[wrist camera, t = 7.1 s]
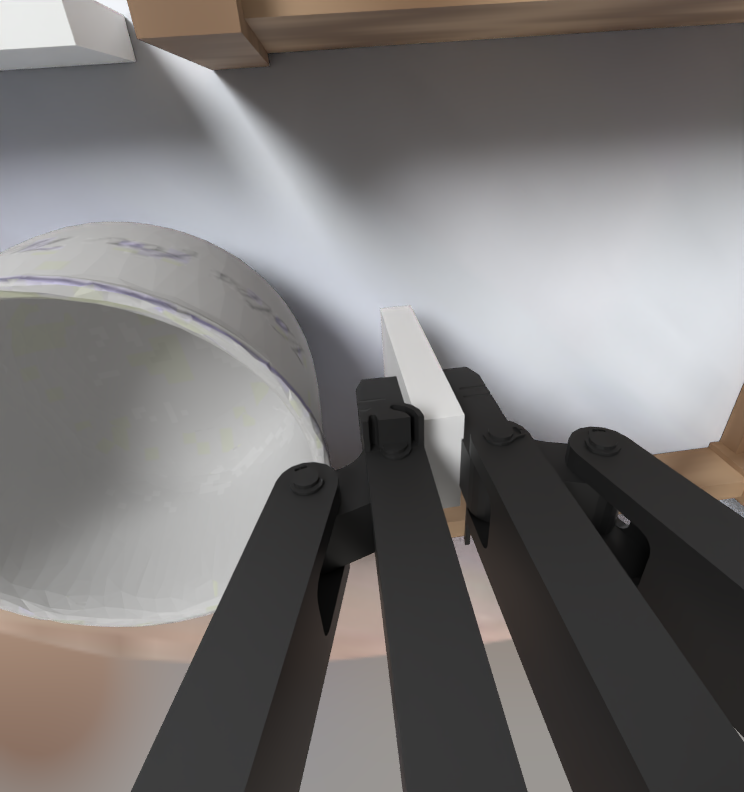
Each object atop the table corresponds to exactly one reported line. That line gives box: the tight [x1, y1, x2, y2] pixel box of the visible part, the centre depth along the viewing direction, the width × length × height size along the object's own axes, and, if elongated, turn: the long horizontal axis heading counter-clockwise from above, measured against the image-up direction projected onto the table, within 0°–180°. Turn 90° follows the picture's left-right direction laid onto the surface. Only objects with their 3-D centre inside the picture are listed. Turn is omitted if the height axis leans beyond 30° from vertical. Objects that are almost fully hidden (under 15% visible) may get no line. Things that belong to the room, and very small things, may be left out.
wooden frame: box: [127, 0, 744, 538], centre depth 15 cm, size 22×20×7 cm
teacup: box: [0, 222, 331, 627], centre depth 14 cm, size 14×11×8 cm
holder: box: [0, 0, 136, 71], centre depth 15 cm, size 10×19×4 cm, turn 4°
